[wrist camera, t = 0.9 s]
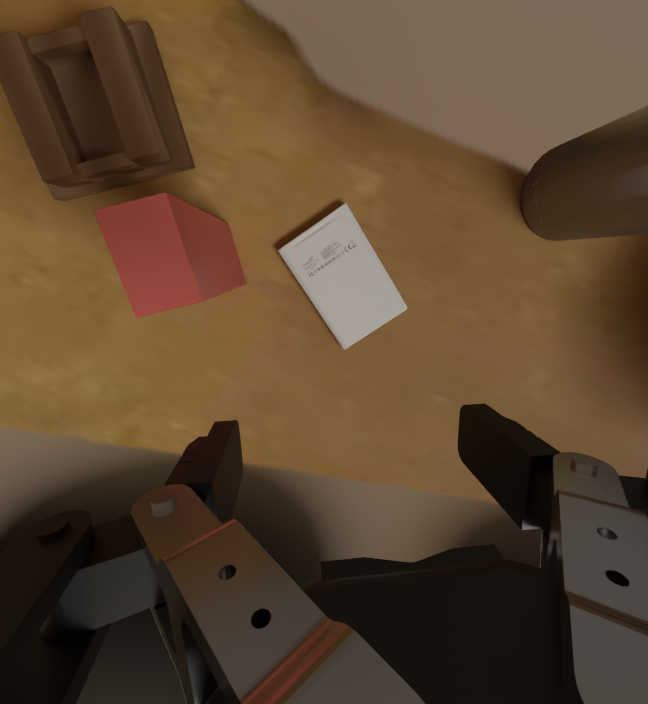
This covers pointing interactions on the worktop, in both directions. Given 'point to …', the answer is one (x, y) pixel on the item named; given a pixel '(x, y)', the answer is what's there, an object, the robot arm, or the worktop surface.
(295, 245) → the external hard drive
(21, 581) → the robot arm
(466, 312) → the worktop surface
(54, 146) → the rack
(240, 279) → the salmon rectangular prism
